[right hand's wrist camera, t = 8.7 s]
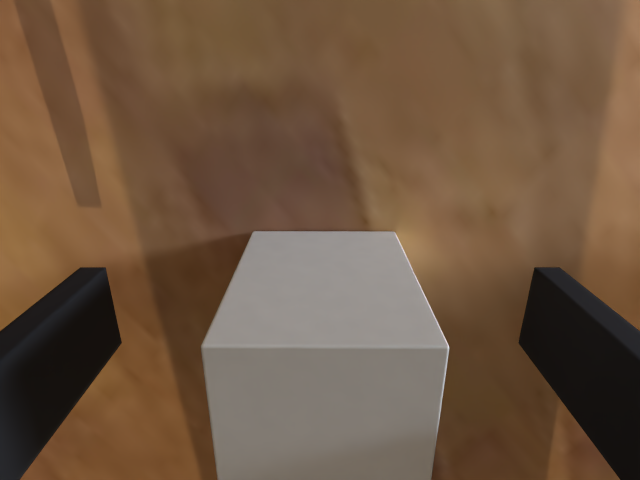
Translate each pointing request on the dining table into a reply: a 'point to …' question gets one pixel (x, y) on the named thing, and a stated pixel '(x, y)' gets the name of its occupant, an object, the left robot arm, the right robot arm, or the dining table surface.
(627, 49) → the dining table surface
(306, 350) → the white block
